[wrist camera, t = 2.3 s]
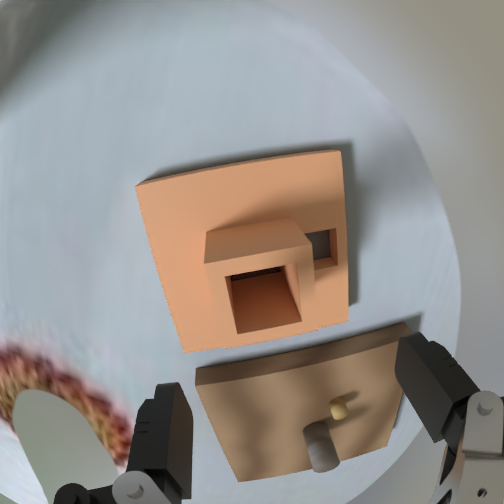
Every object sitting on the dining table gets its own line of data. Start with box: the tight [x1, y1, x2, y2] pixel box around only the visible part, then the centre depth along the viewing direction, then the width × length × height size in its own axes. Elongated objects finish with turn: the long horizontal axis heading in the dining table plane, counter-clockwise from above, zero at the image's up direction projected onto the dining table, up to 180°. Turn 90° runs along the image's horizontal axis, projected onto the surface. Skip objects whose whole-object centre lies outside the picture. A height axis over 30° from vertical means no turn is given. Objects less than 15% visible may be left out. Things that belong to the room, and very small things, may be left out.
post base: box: [195, 322, 413, 482], centre depth 25 cm, size 18×18×6 cm
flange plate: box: [135, 149, 348, 353], centre depth 18 cm, size 12×12×6 cm
